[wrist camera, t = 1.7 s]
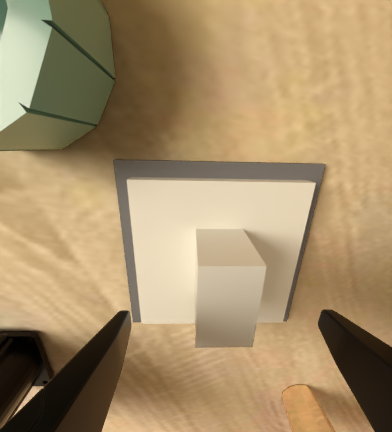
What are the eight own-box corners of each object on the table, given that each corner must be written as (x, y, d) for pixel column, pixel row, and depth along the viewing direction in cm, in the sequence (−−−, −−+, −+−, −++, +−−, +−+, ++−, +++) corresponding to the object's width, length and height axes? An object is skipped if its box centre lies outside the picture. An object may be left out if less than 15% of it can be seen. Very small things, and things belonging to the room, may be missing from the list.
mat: (284, 317, 17) (286, 321, 16) (134, 318, 16) (133, 322, 16) (321, 163, 12) (325, 164, 12) (115, 159, 12) (113, 159, 11)
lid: (277, 312, 16) (313, 382, 11) (144, 313, 15) (124, 385, 11) (306, 180, 12) (379, 201, 7) (131, 176, 12) (92, 196, 7)
